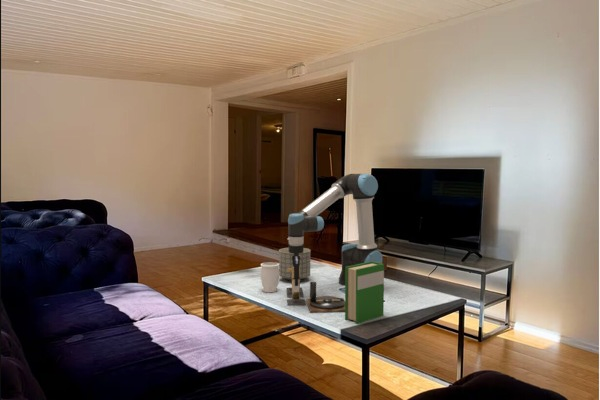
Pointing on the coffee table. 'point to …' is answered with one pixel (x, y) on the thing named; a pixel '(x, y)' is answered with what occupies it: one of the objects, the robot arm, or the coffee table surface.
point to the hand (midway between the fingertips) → (296, 290)
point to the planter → (286, 262)
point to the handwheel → (324, 300)
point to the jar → (270, 276)
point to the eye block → (289, 292)
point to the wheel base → (319, 310)
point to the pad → (296, 302)
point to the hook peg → (294, 294)
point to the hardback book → (364, 291)
